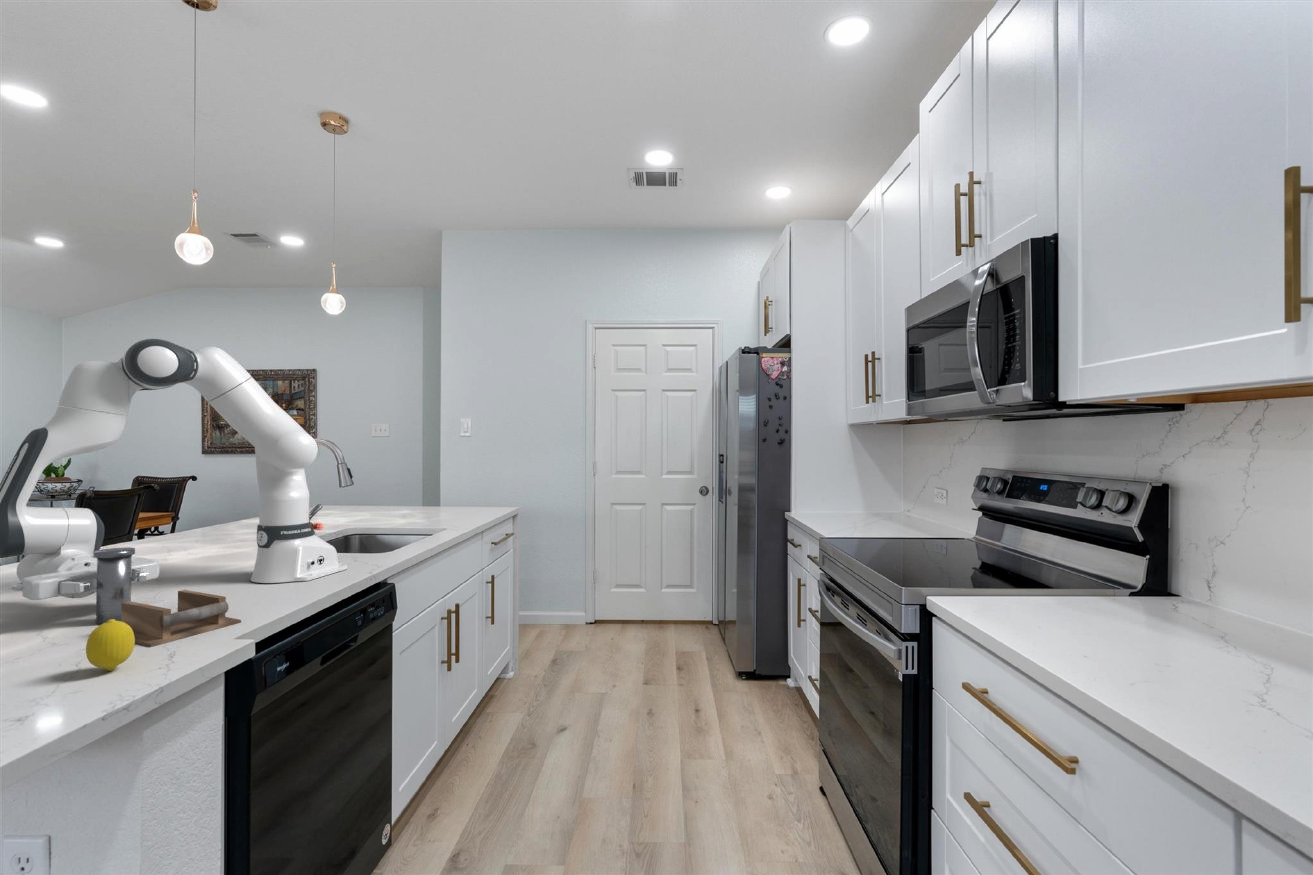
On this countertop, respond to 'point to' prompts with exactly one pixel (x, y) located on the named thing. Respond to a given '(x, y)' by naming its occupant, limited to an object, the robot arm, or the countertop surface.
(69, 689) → the countertop surface
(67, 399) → the robot arm
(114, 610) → the hinge pin
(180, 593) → the brown wooden holder
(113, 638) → the lemon
